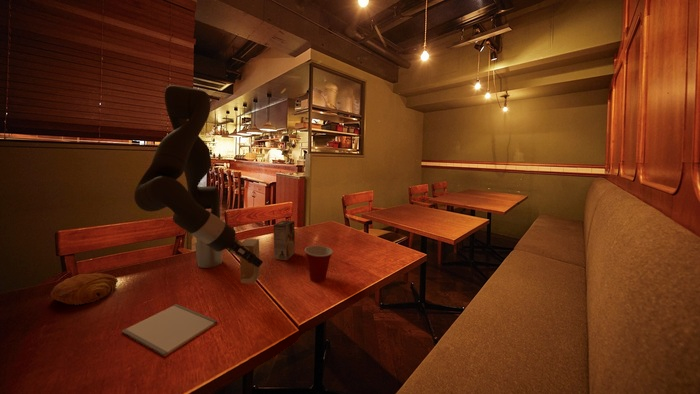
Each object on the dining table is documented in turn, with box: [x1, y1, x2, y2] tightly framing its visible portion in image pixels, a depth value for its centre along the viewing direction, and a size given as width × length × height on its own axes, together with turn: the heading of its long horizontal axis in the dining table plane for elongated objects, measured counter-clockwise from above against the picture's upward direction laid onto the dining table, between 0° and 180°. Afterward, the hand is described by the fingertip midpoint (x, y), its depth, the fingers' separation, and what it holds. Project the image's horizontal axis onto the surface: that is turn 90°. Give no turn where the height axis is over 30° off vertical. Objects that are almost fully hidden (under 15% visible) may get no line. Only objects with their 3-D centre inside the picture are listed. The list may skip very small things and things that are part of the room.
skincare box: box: [239, 238, 261, 284], centre depth 81 cm, size 6×4×12 cm
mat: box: [121, 303, 218, 357], centre depth 71 cm, size 18×14×1 cm
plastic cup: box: [304, 245, 334, 283], centre depth 100 cm, size 11×11×12 cm
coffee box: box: [273, 220, 296, 261], centre depth 121 cm, size 9×6×16 cm
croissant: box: [50, 272, 119, 306], centre depth 85 cm, size 14×16×8 cm
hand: (254, 260), depth 82 cm, fingers closed on skincare box, 7 cm apart
